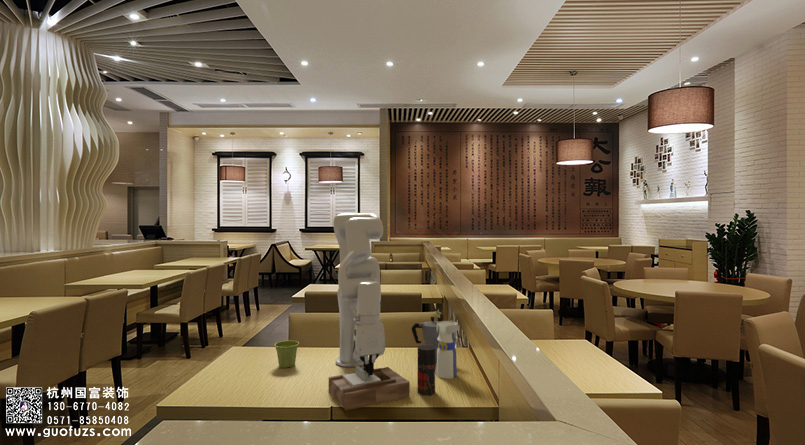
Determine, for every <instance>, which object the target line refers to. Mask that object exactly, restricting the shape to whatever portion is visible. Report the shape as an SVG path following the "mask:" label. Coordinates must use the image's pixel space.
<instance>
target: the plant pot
mask: <svg viewBox="0 0 805 445" xmlns="http://www.w3.org/2000/svg"><path fill="white" fill-rule="evenodd" d="M299 344H300V342H299V341H297V340H282V341H278V342H275V343H274V345H273V346H274V347H275V350H276V354H277V356H276V357H277V361H278V366H279V368H282V369H286V368H292V367H293V368H294V366H295V365H296V359H297V352H298V351H297V350H298V346H299Z"/></svg>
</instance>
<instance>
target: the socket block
mask: <svg viewBox="0 0 805 445" xmlns="http://www.w3.org/2000/svg"><path fill="white" fill-rule="evenodd" d="M353 373H354V372H350V373H346V374H339V375H334V376H329V377H328V393H329V394H330V396H331V397H332V398H333V399H334V400H335V401H336V402H337V403H338V404H339V405H340V404H341V405H342V406H343V407H342V406H341V405H340V406H341V407H342V409H344V411H345V412H346V411H351V410H352V411H353V410H356V409H360V408H365V406H366V407H370V406H375V405H380V404H384V403H389V402H393V401H397V400H401V399H407V398H410V380H407V379H406V378H405V377H403V376H402V375H400V374H399V373H397V372H396V371H395V370H393V369H392V368H390V367H389V366H386V367H380V368H374V371H373V374H374V375H376V376H377V377H378V378H379V379H381V381H379V382H374V383H368V384H363V385H358V386H351V385H350V384H349V383H348V382H346V381H345V380H344V379H343V375H347V374H353ZM369 405H370V406H369Z"/></svg>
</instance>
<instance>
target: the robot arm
mask: <svg viewBox="0 0 805 445" xmlns="http://www.w3.org/2000/svg"><path fill="white" fill-rule="evenodd" d="M332 223H333V224H332V225H333V232H334V235H335V238H336V240H337V243H338V247H339V266H338V271H337V280H338V281H337V283H338V284H337V285H338V289H337V292H336V293H337V294H336V295H337V302H338V309H339V312H338V313H339V314H338V315H339V356H338V357H337V358H336V359H335V364H336V365H338V366H340V367H344V368H345V367H347V368H355V366H360V367H361V366H363V370H365V371H366V372H367V373H368V376H370V375H373V371H374V369H375V366H374V365H375V363H376V360H377V359H378V358H379V357H381V356H383V355H384V353H385V350H386V335H385V328H384V324H383V321H381V301H382V300H381V299H382V288H381V272H380V271H381V270H380V264H379V261H378V260H379V259H377V258H376V257H374V256H371V255H372V249H371V248H372V247H371V243H370V240H380V239H382V237H383V235H384V224H383V222H382V220H381V218H380V217H379V216H378V215H376V214H374V213H371V212H370V213H367V212H344V213H339V214H337V215H335V216H334V218H333V222H332Z"/></svg>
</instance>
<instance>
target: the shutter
mask: <svg viewBox="0 0 805 445" xmlns="http://www.w3.org/2000/svg"><path fill="white" fill-rule="evenodd" d="M354 369H355V370H354V371H355V372H352V373H353V374H349V373H346V374H347V375H343V374H342V375H343V379H344V380H345V381H346V382H348V383H349V384H350V385H351V386H358V385H363V384H368V383H374V382H379V381H381V379H379V378H378V377H377V376H376V375H374V374H373V375H370V376H368V373H367V372H366V371H365V370H364V368H362V367H361V366H355V367H354Z"/></svg>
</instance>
